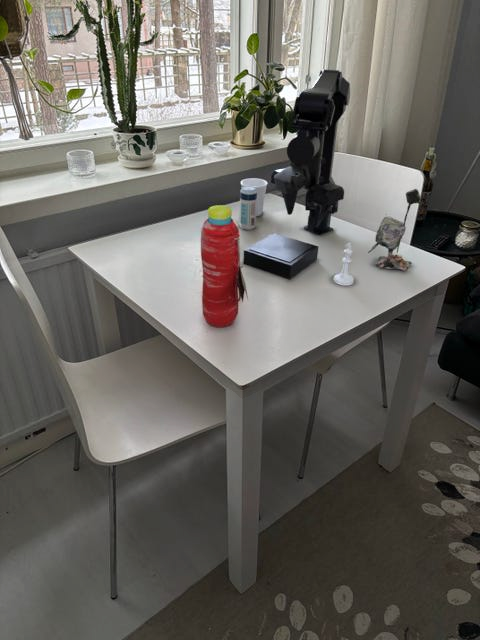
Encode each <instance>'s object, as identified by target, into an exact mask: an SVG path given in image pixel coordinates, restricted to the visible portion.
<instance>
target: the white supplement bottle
mask: <svg viewBox="0 0 480 640" xmlns="http://www.w3.org/2000/svg"><path fill="white" fill-rule="evenodd" d="M239 191H240V195H239V227H240V228H241V229H243V230H246V231H247V230H249V231H251V230H253V229H255V228H256V227H257V216H256V205H257V191H256V188H255V187H253V186H244V187H242V186H241V188H240V190H239Z"/></svg>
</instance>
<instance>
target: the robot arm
mask: <svg viewBox="0 0 480 640" xmlns="http://www.w3.org/2000/svg"><path fill="white" fill-rule="evenodd" d="M350 84H351V83H350V82H349V81H348V80H347V79H346V78H344V77H343V72H342V71H340V70H339V69H321V70H320V71H319V75H318V78H317V80H316V81H315V82H314V84H313V86H312V87H311V88H305V89H303V90H301V91H300V92H299V94H298V96H296V98H295V101H294V105H293V110H292V114H291V119H290V125H289V128H290V129H294V130H296V134H295V136H294V137H293V138H292V139H291V140H290V141H289V142H288V144H287V147H286V155H287V157H288V159H289V161H290V165H289V166H288V167H285V168H280V169H275V170H274V171H272V173H271V176H270V183H271V184H273V187H274V188H276V190H277V191H280V193H281V195H282V197H283V198H282V199H283V201H284V205H285V206H284V207H285V209H286V213H287V215H288V216H290V215H293V212H294V208H295V205H296V202H297V196H298V191H300V190H302V189H304V190H306V193H305V201H304V202H305V203H304V204H305V205H304V211H306V212H307V211H308V212H309V213H308V216H307V225H305V226H303V229H304V230H306V231H308V232H310V233H313V234H316V235H318V236H322V235H324V234H327V233H330V232H333V231H334V228H333V227H331V219H332V215H334V214H336V213H338V210H339V201H343V200H344V198H345V189H344V188H343V186H341V185H338V184H336V182H335V181H334V179H333V176H332V174H333V166H334V157H335V151H336V142H337V133H338V125H339V121H340V119H341V117H342V116H343V115H344V113H345V112H346V110H347V106H349V104H350V98H351V85H350Z"/></svg>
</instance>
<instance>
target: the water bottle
mask: <svg viewBox="0 0 480 640" xmlns="http://www.w3.org/2000/svg"><path fill="white" fill-rule="evenodd" d="M207 216H208V218H207V219H205V221H204V222H203V225H202V227H201V231H200V258H201V269H202V276H201V278H202V290H201V306H202V316H203V318H204V320H205V322H206V323H207V324H209V325H210V326H211V327H214V328H226V327H228V326H231V325H232V324H233V322H235V320H236V319H237V317H238V314H239V302H240V301H241V302H242V303H244V297H245V295H246V298H247V300H249V297H248V296H249V295H248V291H247V284H246V280H245V277H244V275H243V271H242V269H243V268H244V265H241V247H240V231H239V227H238V226H237V224H236V223H235V221H234V219H233V218H232V208H231V207H229V206H227V205H223V204H222V205H221V204H219V205H213V206H210V207H208V209H207Z"/></svg>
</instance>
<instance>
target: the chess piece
mask: <svg viewBox="0 0 480 640" xmlns="http://www.w3.org/2000/svg"><path fill="white" fill-rule="evenodd" d="M351 244H352V243H351V242H347V244H345V247H347V248H345V249H344V250H343V254H344V257H343V258H342V259H341V261H342V262H343V265H342V269H341V272H340V273H337V274H335V275H334V276H333V282H334V283H335V284H337V285H340V286H351V285H353V284H354V282H355V281H354V280H355V278H354V277H353V276H352V275H350V274H349V263H352V259H351V255H352V254H353V250H352V249H353V246H352V245H351Z"/></svg>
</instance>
